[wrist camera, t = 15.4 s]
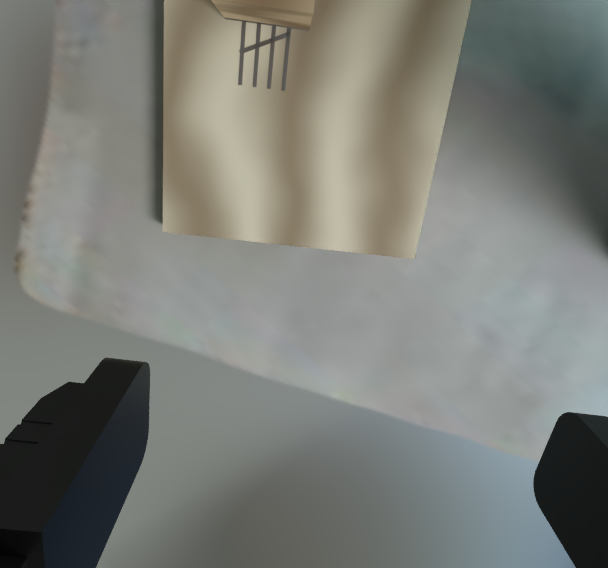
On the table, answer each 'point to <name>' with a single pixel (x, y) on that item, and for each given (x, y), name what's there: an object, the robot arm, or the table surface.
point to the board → (307, 122)
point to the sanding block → (269, 12)
